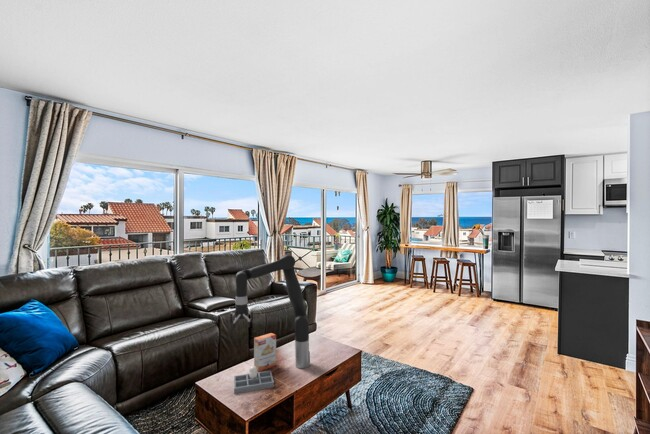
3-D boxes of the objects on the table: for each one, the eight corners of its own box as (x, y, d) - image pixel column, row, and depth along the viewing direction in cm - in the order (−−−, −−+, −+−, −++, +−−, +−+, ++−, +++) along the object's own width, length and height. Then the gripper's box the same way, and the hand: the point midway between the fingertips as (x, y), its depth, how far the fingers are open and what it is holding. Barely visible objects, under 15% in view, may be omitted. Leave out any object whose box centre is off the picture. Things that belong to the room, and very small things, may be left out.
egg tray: (270, 374, 201) (270, 370, 201) (273, 386, 187) (273, 382, 187) (234, 380, 195) (234, 376, 195) (234, 393, 180) (234, 388, 180)
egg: (256, 377, 197) (256, 364, 197) (257, 381, 193) (257, 367, 193) (249, 378, 196) (248, 365, 196) (249, 382, 191) (249, 368, 191)
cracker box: (258, 372, 204) (258, 340, 205) (253, 369, 209) (253, 337, 209) (276, 365, 214) (276, 334, 214) (271, 362, 219) (271, 332, 219)
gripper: (252, 300, 210) (252, 325, 210) (229, 302, 206) (229, 327, 206) (253, 303, 203) (253, 328, 203) (230, 305, 199) (230, 331, 199)
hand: (241, 328), depth 204 cm, fingers open, 8 cm apart
